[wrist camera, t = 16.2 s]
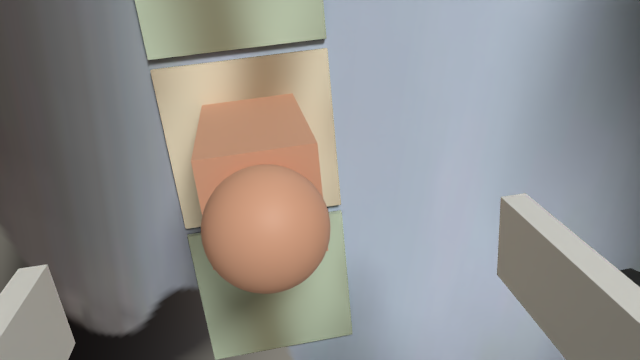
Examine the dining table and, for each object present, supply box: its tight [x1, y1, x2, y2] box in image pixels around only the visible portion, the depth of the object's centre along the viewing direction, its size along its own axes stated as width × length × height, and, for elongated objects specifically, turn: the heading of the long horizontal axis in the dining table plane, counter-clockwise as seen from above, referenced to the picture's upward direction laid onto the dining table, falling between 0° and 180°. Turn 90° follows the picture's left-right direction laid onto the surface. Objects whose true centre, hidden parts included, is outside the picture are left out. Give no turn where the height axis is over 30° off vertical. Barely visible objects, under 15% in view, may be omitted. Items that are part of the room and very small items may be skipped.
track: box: [135, 0, 352, 360], centre depth 25 cm, size 8×36×1 cm, turn 6°
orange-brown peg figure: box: [191, 93, 330, 294], centre depth 21 cm, size 4×4×12 cm
